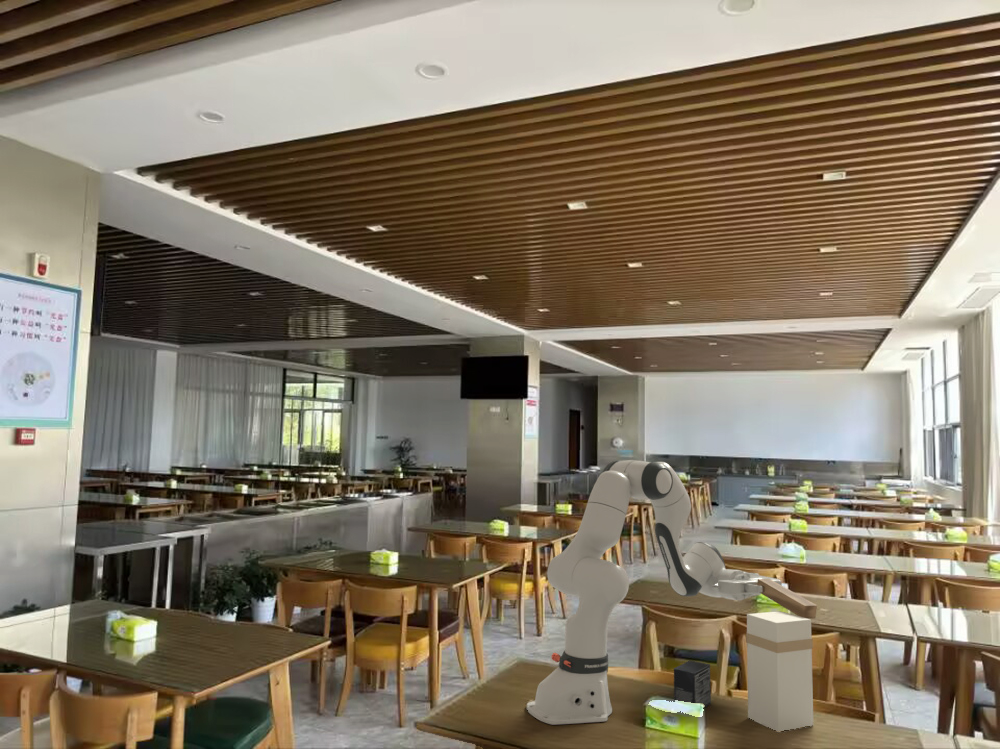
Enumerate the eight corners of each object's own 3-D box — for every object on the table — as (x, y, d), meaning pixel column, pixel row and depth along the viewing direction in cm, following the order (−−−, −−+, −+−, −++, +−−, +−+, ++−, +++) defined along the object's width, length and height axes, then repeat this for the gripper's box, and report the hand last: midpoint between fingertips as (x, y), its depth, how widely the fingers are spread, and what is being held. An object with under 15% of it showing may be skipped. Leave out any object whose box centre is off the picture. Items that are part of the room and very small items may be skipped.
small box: (689, 698, 191) (689, 659, 192) (711, 704, 187) (711, 664, 188) (672, 708, 183) (672, 667, 184) (695, 714, 179) (695, 672, 180)
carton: (778, 732, 168) (776, 623, 171) (747, 717, 178) (746, 614, 181) (814, 726, 173) (811, 619, 177) (782, 711, 183) (780, 611, 186)
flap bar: (802, 618, 180) (804, 605, 180) (756, 590, 198) (757, 578, 198) (815, 618, 181) (817, 605, 181) (768, 590, 199) (769, 578, 199)
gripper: (707, 575, 204) (742, 578, 192) (759, 573, 213) (795, 576, 201) (709, 597, 203) (743, 602, 191) (761, 594, 212) (797, 598, 199)
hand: (770, 588), depth 196 cm, fingers closed on flap bar, 4 cm apart
